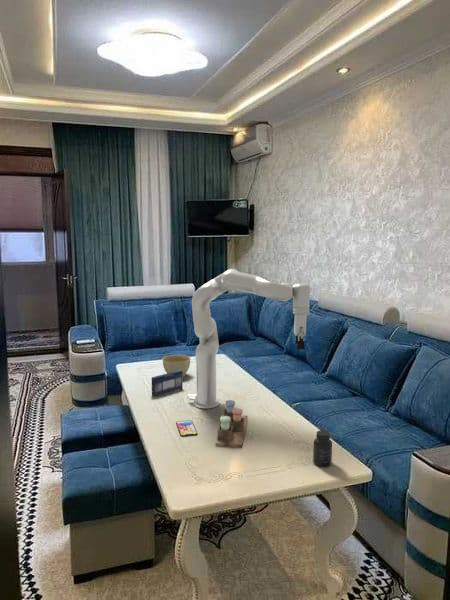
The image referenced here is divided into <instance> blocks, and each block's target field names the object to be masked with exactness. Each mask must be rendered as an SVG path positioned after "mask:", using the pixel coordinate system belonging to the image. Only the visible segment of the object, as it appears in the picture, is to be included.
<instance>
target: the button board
mask: <svg viewBox="0 0 450 600" xmlns="http://www.w3.org/2000/svg"><path fill="white" fill-rule="evenodd" d="M222 414H223V415H222V416H229V417H230V418H231V419H230V422H229V431H223V430H221V424H220V425H218V428H217V438H216V441H215V447H223V448H224V447H226V448H243V441H244V437H245V432H246V427H247V422H248V415H241V422H233V413H226V408H224V410H223V413H222Z"/></svg>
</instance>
